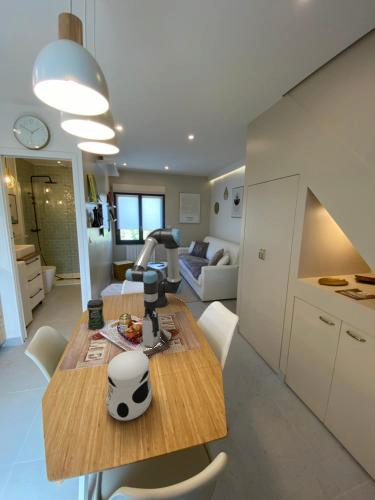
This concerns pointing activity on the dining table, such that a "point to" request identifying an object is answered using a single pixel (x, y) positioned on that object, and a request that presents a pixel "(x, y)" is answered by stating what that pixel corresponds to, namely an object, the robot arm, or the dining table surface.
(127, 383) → the milk container
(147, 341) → the milk carton
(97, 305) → the coffee jar
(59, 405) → the dining table surface
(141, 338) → the bay
